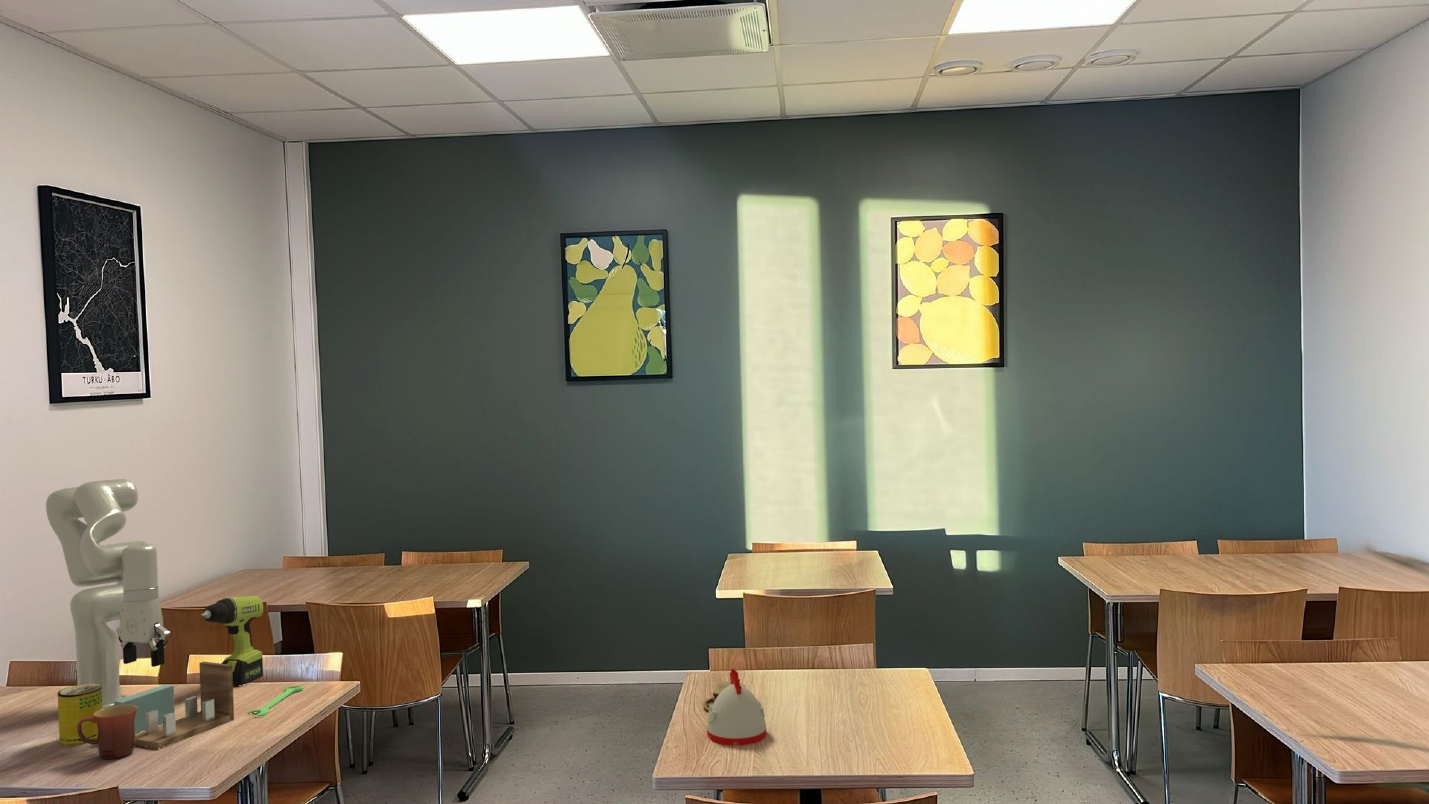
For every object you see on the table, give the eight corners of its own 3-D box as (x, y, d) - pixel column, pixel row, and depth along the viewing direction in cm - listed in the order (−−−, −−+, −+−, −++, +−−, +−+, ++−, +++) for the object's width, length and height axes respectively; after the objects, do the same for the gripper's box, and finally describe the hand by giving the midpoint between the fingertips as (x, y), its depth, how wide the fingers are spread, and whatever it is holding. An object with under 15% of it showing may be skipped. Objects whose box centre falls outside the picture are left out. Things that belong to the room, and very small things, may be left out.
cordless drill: (215, 698, 267) (212, 607, 266) (192, 697, 268) (189, 606, 267) (268, 673, 289) (265, 589, 289) (247, 672, 291) (244, 588, 290)
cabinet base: (159, 749, 229) (156, 689, 229) (128, 744, 233) (126, 685, 233) (234, 719, 249) (232, 664, 249) (205, 715, 253) (203, 661, 252)
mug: (141, 745, 232) (140, 702, 232) (136, 758, 224) (134, 713, 224) (82, 754, 228) (80, 710, 227) (74, 767, 220) (72, 721, 219)
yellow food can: (110, 730, 243) (108, 682, 243) (93, 743, 234) (91, 693, 234) (70, 733, 241) (68, 685, 241) (52, 746, 233) (50, 696, 232)
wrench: (242, 722, 250) (262, 722, 250) (241, 715, 250) (262, 714, 250) (289, 689, 275) (307, 688, 275) (288, 682, 275) (307, 682, 275)
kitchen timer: (757, 722, 239) (756, 661, 239) (773, 742, 226) (771, 677, 225) (702, 727, 236) (700, 665, 236) (714, 748, 223) (712, 682, 222)
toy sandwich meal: (694, 712, 247) (694, 694, 247) (717, 696, 260) (716, 679, 259) (739, 719, 242) (739, 700, 242) (760, 702, 254) (760, 684, 254)
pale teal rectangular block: (123, 739, 237) (122, 702, 236) (114, 738, 238) (113, 701, 238) (174, 720, 250) (173, 685, 249) (166, 719, 251) (165, 684, 251)
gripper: (102, 596, 243) (105, 665, 243) (152, 600, 236) (155, 670, 236) (130, 590, 250) (133, 657, 250) (179, 593, 243) (182, 662, 243)
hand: (144, 663), depth 243 cm, fingers open, 9 cm apart
